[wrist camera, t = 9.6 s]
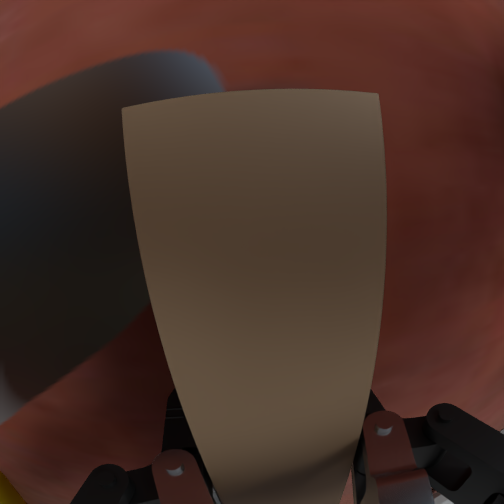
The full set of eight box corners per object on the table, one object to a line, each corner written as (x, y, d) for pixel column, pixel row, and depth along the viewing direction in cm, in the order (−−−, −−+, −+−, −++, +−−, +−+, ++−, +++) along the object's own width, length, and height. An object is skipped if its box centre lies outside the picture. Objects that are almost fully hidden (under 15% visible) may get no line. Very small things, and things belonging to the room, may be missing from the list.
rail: (168, 139, 8) (121, 108, 4) (296, 126, 9) (378, 93, 4) (237, 483, 14) (248, 551, 9) (303, 472, 14) (325, 537, 9)
